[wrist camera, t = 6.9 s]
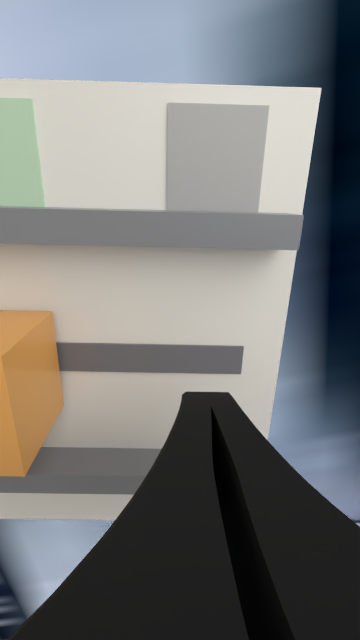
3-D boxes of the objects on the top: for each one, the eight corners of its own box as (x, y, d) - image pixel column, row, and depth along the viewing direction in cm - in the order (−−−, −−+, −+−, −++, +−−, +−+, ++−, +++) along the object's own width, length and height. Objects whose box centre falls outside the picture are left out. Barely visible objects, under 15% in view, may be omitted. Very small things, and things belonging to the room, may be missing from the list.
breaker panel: (245, 480, 18) (262, 553, 14) (-4, 476, 18) (-51, 550, 14) (292, 110, 12) (346, 68, 8) (-94, 98, 11) (-224, 50, 8)
